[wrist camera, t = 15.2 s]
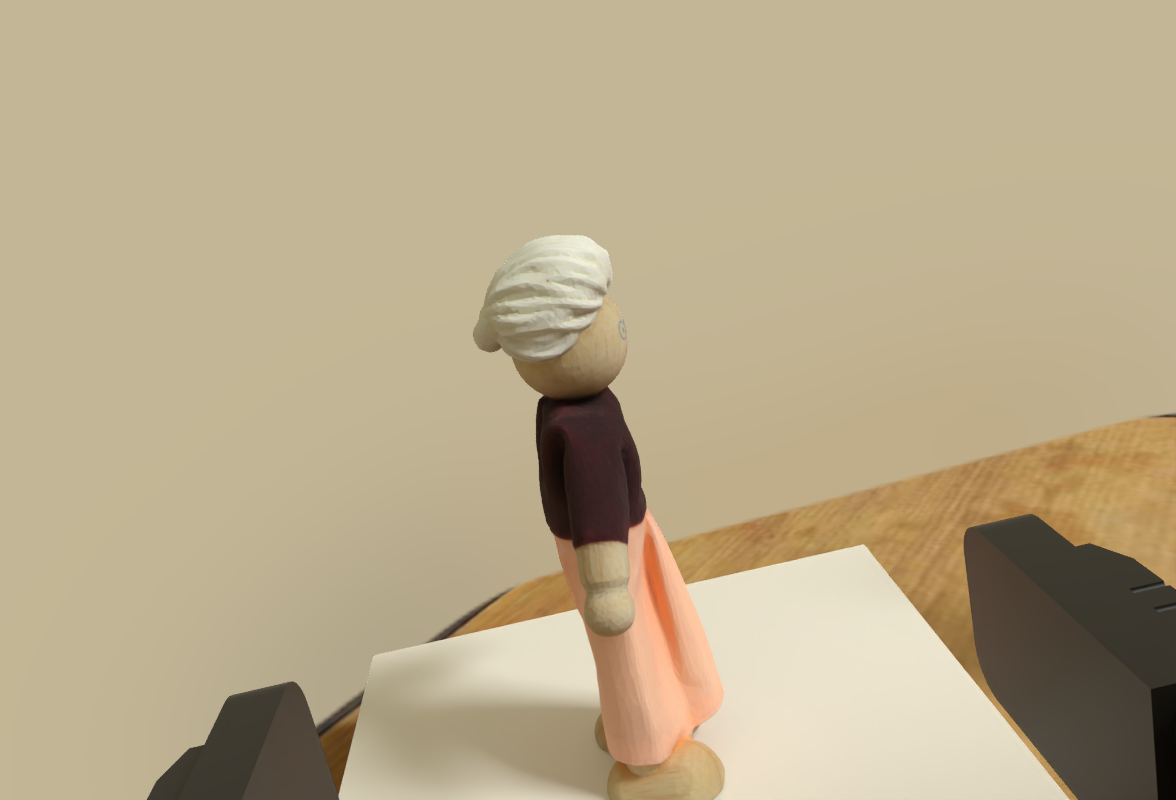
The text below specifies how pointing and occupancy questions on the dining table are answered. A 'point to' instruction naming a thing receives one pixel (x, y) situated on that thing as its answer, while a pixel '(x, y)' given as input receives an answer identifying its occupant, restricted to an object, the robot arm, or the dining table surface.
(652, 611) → the grandmother figurine
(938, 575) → the dining table surface
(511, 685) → the stone slab
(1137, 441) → the dining table surface
